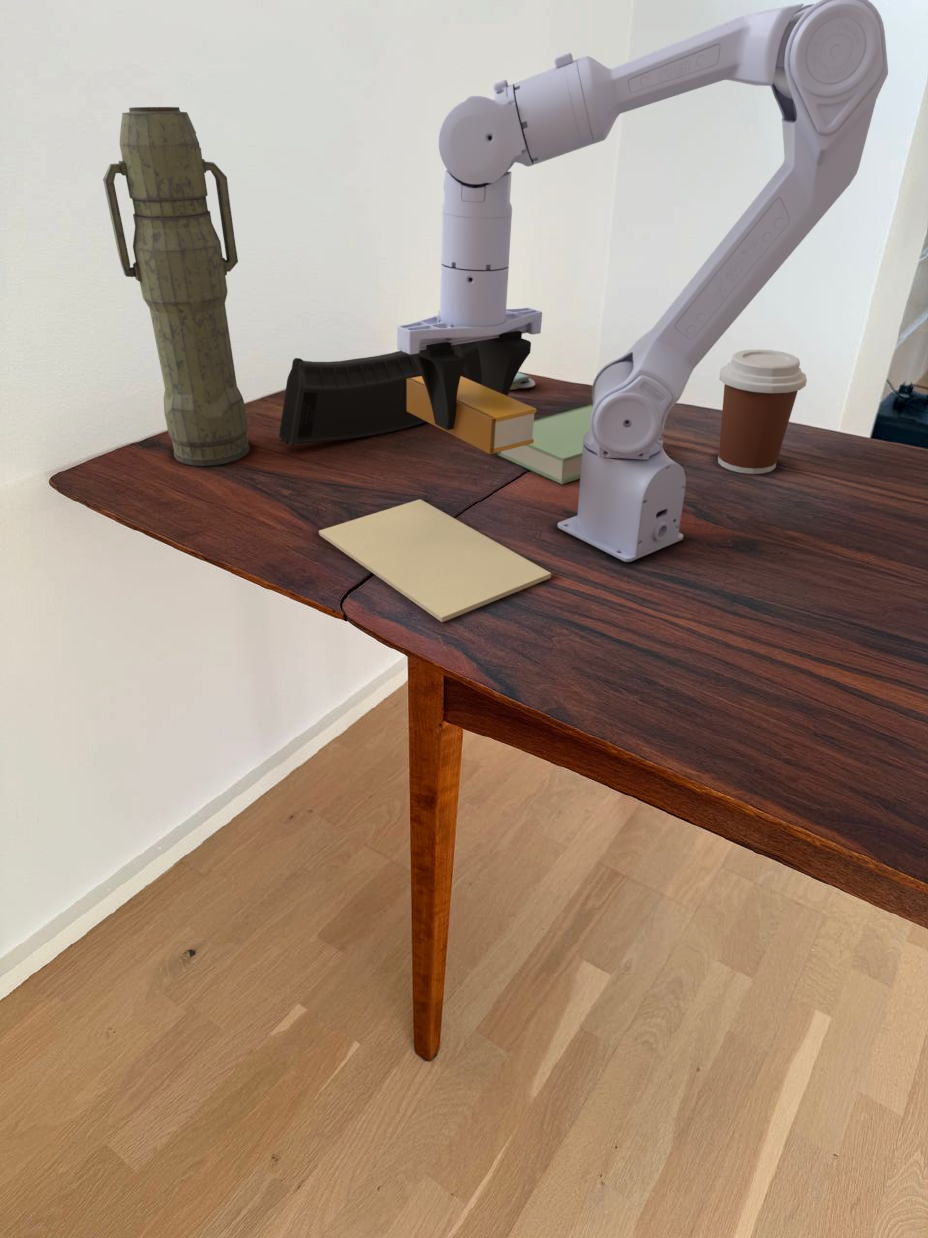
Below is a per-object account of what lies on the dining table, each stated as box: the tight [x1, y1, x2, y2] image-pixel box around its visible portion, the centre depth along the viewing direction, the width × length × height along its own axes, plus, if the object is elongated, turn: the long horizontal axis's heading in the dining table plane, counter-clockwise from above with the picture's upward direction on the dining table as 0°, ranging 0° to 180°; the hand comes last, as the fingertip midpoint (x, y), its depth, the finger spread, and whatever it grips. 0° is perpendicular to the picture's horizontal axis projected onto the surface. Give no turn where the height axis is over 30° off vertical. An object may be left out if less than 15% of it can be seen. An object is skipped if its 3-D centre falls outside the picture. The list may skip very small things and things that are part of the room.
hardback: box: [496, 403, 593, 485], centre depth 99 cm, size 16×11×3 cm
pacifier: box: [510, 371, 536, 390], centre depth 121 cm, size 7×6×6 cm
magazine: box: [278, 341, 482, 446], centre depth 105 cm, size 17×3×30 cm
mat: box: [318, 498, 552, 623], centre depth 78 cm, size 20×12×1 cm, turn 38°
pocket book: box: [407, 376, 537, 455], centre depth 78 cm, size 13×5×3 cm, turn 37°
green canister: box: [102, 106, 250, 467], centre depth 91 cm, size 9×12×35 cm
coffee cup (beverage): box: [717, 349, 808, 475], centre depth 94 cm, size 9×9×12 cm
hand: (468, 420), depth 79 cm, fingers closed on pocket book, 5 cm apart
